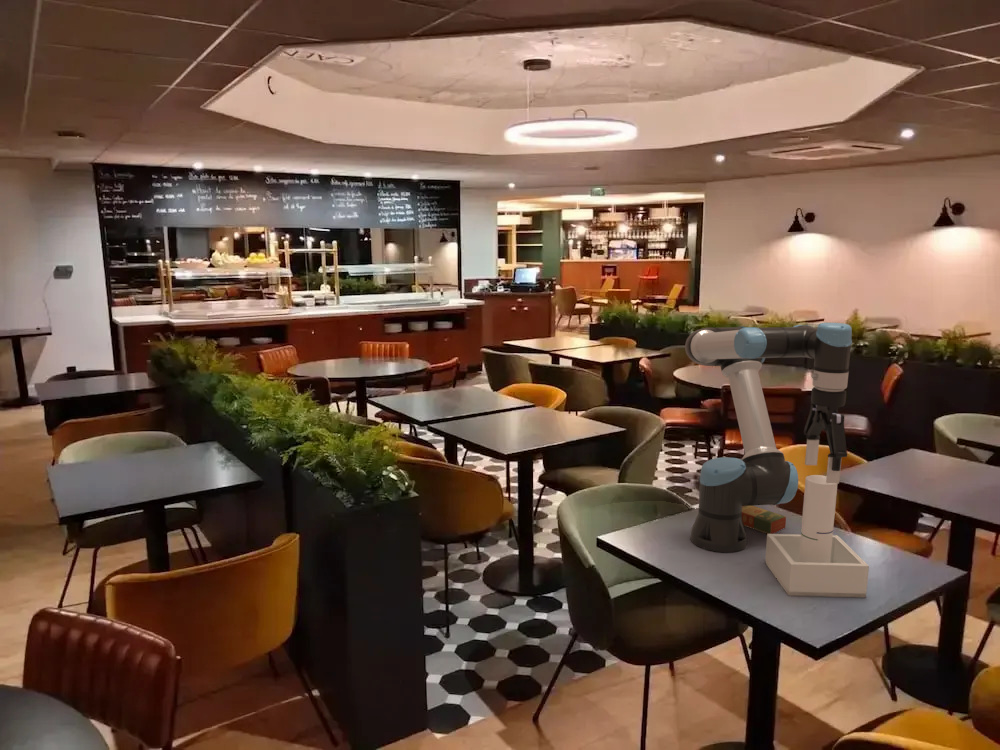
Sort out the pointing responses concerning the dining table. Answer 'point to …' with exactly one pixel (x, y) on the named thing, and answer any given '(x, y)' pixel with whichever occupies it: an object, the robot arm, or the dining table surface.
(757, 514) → the carton
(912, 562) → the dining table surface
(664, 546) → the dining table surface
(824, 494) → the cylindrical container
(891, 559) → the dining table surface
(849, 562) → the beige bin
